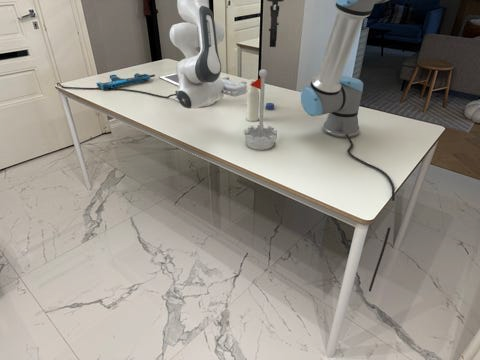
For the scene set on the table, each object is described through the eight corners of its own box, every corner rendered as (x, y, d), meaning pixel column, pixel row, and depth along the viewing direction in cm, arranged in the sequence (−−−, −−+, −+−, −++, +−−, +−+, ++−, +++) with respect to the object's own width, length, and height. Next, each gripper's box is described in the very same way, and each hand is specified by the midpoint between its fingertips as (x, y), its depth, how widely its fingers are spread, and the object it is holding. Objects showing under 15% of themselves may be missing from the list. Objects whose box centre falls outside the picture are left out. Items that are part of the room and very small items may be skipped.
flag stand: (268, 134, 146) (271, 63, 130) (281, 147, 136) (287, 72, 120) (240, 139, 142) (239, 66, 126) (252, 153, 132) (253, 76, 116)
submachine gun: (140, 68, 226) (159, 74, 209) (142, 73, 228) (160, 80, 211) (89, 77, 207) (104, 85, 190) (90, 84, 209) (106, 92, 192)
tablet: (159, 77, 217) (158, 76, 217) (185, 71, 228) (185, 71, 228) (186, 89, 197) (186, 89, 197) (214, 82, 208) (214, 82, 208)
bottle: (244, 118, 162) (244, 79, 152) (254, 115, 164) (255, 77, 154) (250, 122, 158) (251, 82, 148) (260, 119, 160) (261, 80, 150)
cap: (269, 110, 170) (269, 106, 169) (264, 108, 173) (264, 103, 171) (275, 108, 172) (275, 104, 171) (270, 106, 175) (270, 102, 173)
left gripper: (233, 86, 126) (256, 78, 135) (195, 76, 137) (218, 69, 146) (233, 103, 130) (255, 93, 139) (196, 91, 141) (219, 83, 150)
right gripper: (268, -12, 154) (266, 38, 166) (265, -7, 134) (263, 49, 145) (284, -12, 154) (281, 38, 165) (284, -7, 133) (281, 49, 144)
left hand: (236, 81), depth 143 cm, fingers open, 8 cm apart
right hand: (273, 43), depth 155 cm, fingers open, 13 cm apart
